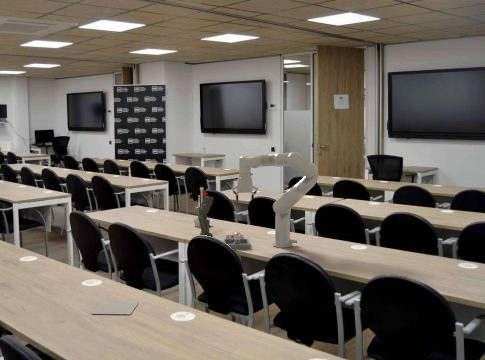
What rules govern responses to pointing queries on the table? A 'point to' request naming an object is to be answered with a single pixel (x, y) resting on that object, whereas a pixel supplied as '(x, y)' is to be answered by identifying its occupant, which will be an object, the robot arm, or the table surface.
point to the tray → (243, 244)
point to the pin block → (232, 237)
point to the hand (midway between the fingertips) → (244, 201)
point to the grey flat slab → (114, 308)
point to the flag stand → (201, 204)
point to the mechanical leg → (205, 215)
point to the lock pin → (236, 238)
